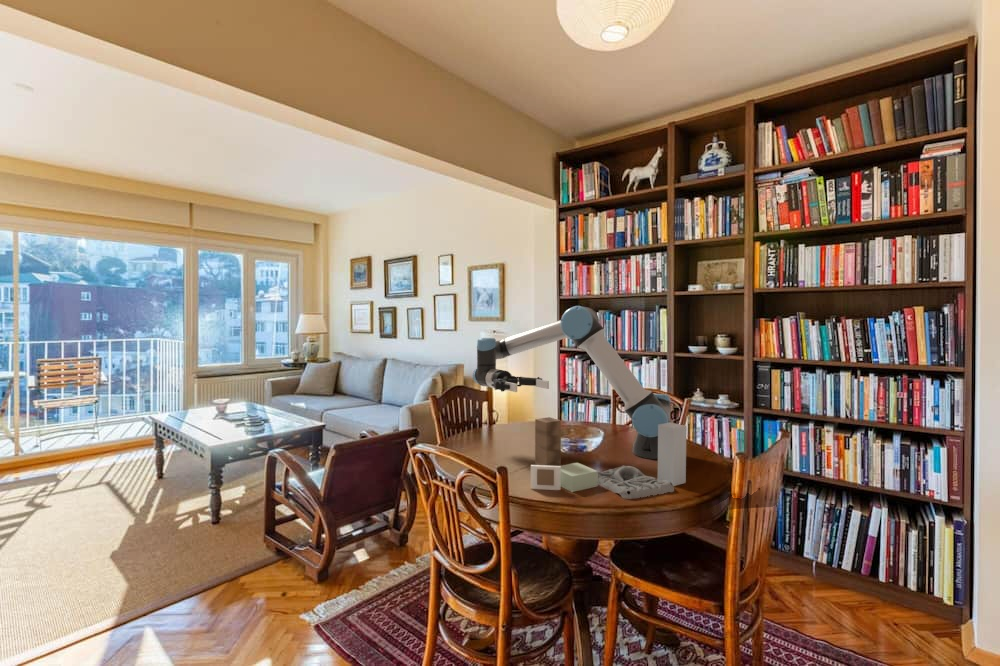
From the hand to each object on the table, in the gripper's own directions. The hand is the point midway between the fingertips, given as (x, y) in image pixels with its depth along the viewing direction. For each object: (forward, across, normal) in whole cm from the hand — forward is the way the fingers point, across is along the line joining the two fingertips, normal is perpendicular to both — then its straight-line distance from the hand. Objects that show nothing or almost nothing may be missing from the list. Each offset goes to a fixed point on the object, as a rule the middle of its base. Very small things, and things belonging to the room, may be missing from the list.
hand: (532, 386), depth 168 cm
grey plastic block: (+36, -28, -28) cm, 54 cm away
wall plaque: (+29, -16, -29) cm, 44 cm away
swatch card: (+20, +10, -28) cm, 36 cm away
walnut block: (+9, 0, -28) cm, 29 cm away
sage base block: (+21, -1, -28) cm, 35 cm away
